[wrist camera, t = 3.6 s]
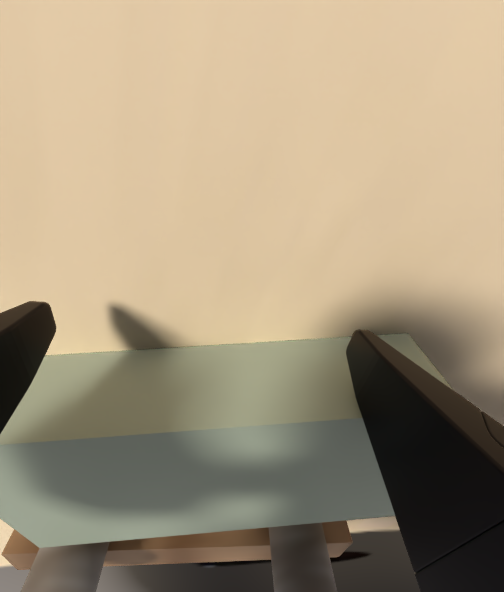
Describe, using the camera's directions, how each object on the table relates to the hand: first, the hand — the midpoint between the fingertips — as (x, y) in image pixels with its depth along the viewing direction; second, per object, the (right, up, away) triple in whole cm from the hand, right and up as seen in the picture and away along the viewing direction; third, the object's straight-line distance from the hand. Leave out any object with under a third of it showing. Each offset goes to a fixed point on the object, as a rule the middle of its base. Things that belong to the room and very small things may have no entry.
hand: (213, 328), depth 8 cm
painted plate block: (0, -4, +5) cm, 7 cm away
